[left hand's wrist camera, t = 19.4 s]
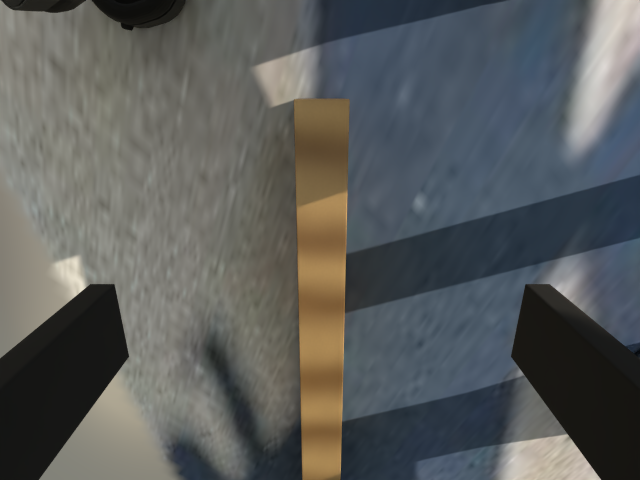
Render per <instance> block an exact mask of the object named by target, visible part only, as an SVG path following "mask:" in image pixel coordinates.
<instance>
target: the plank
mask: <svg viewBox="0 0 640 480" xmlns="http://www.w3.org/2000/svg"><path fill="white" fill-rule="evenodd" d="M294 127H295V172H296V217H297V262H298V307H299V352H300V397H301V442H302V480H340V476H341V434H342V392H343V350H344V309H345V267H346V225H347V183H348V141H349V99H294Z"/></svg>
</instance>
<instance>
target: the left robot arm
mask: <svg viewBox="0 0 640 480" xmlns="http://www.w3.org/2000/svg"><path fill="white" fill-rule="evenodd" d="M128 357H129V354H128V349H127V344H126V339H125V334H124V329H123V324H122V319H121V314H120V309H119V305H118V300H117V295H116V290H115V285H114V284H90V285H89V286H88V287H87V288H85V289H84V290H83V291H82V292H80V293H79V294H78V295H77V296H76V297H74V298H73V299H72V300H71V301H70V302H68V303H67V304H66V305H65V306H63V307H62V308H61V309H60V310H59V311H57V312H56V313H55V314H54V315H53V316H51V317H50V318H49V319H48V320H46V321H45V322H44V323H43V324H42V325H40V326H39V327H38V328H37V329H35V330H34V331H33V332H32V333H31V334H29V335H28V336H27V337H26V338H25V339H23V340H22V341H21V342H20V343H18V344H17V345H16V346H15V347H14V348H12V349H11V350H10V351H9V352H8V353H6V354H5V355H4V356H3V357H1V358H0V480H39V479H40V477H41V476H42V475H43V473H44V472H45V471H46V469H47V468H48V466H49V465H50V464H51V462H52V461H53V460H54V458H55V457H56V455H57V454H58V453H59V451H60V450H61V449H62V447H63V446H64V444H65V443H66V442H67V440H68V439H69V438H70V436H71V435H72V434H73V432H74V431H75V430H76V428H77V427H78V425H79V424H80V423H81V421H82V420H83V419H84V417H85V416H86V414H87V413H88V412H89V410H90V409H91V408H92V406H93V405H94V404H95V402H96V401H97V399H98V398H99V397H100V395H101V394H102V393H103V391H104V390H105V388H106V387H107V386H108V384H109V383H110V382H111V380H112V379H113V378H114V376H115V375H116V374H117V372H118V371H119V369H120V368H121V367H122V365H123V364H124V363H125V361H126V360H127V358H128ZM511 357H512V358H513V360H514V361H515V363H516V364H517V365H518V367H519V368H520V369H521V371H522V372H523V374H524V375H525V376H526V378H527V379H528V380H529V382H530V383H531V384H532V386H533V387H534V389H535V390H536V391H537V393H538V394H539V395H540V397H541V398H542V399H543V401H544V402H545V404H546V405H547V406H548V408H549V409H550V410H551V412H552V413H553V414H554V416H555V417H556V419H557V420H558V421H559V423H560V424H561V425H562V427H563V428H564V430H565V431H566V432H567V434H568V435H569V436H570V438H571V439H572V440H573V442H574V443H575V445H576V446H577V447H578V449H579V450H580V451H581V453H582V454H583V455H584V457H585V458H586V460H587V461H588V462H589V464H590V465H591V466H592V468H593V469H594V471H595V472H596V473H597V475H598V476H599V477H600V479H601V480H640V358H639V357H637V356H636V355H635V354H634V353H632V352H631V351H630V350H629V349H628V348H626V347H625V346H624V345H623V344H622V343H620V342H619V341H618V340H617V339H615V338H614V337H613V336H612V335H611V334H609V333H608V332H607V331H606V330H605V329H603V328H602V327H601V326H600V325H598V324H597V323H596V322H595V321H594V320H592V319H591V318H590V317H589V316H587V315H586V314H585V313H584V312H583V311H581V310H580V309H579V308H578V307H577V306H575V305H574V304H573V303H572V302H570V301H569V300H568V299H567V298H566V297H564V296H563V295H562V294H561V293H560V292H558V291H557V290H556V289H555V288H553V287H552V286H551V285H550V284H526V285H525V290H524V295H523V300H522V305H521V309H520V314H519V319H518V324H517V329H516V334H515V339H514V344H513V349H512V354H511Z"/></svg>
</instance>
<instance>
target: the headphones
mask: <svg viewBox="0 0 640 480" xmlns="http://www.w3.org/2000/svg"><path fill="white" fill-rule="evenodd" d="M2 1H3V3H4V4H5V5H6V6H8V7H9V8H11V9H13V10H21V11H45V12H50V13H58V12H64V11H69V10H72V9H74V8H76V7H77V6H79V5H80V4H81V3H83V2H84V1H86V0H2ZM92 1H93V2H94V4H95V5H96V6H97V7H98V8H99V9H100V10H101V11H102V12H103V13H105V14H106V15H107V16H108V17H110V18H112V19H114V20H115V21H118V22H121V26H122V28H124V29H126V30H132V29H133V27H138V28H149V27H152V26H156V25H159V24H163V23H166V22H168V21H170V20H172V19H173V18H174V17H175V16H177V15H178V14H179V12H180V11H181V9H182V7H183V6H184V4H185V0H92Z"/></svg>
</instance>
